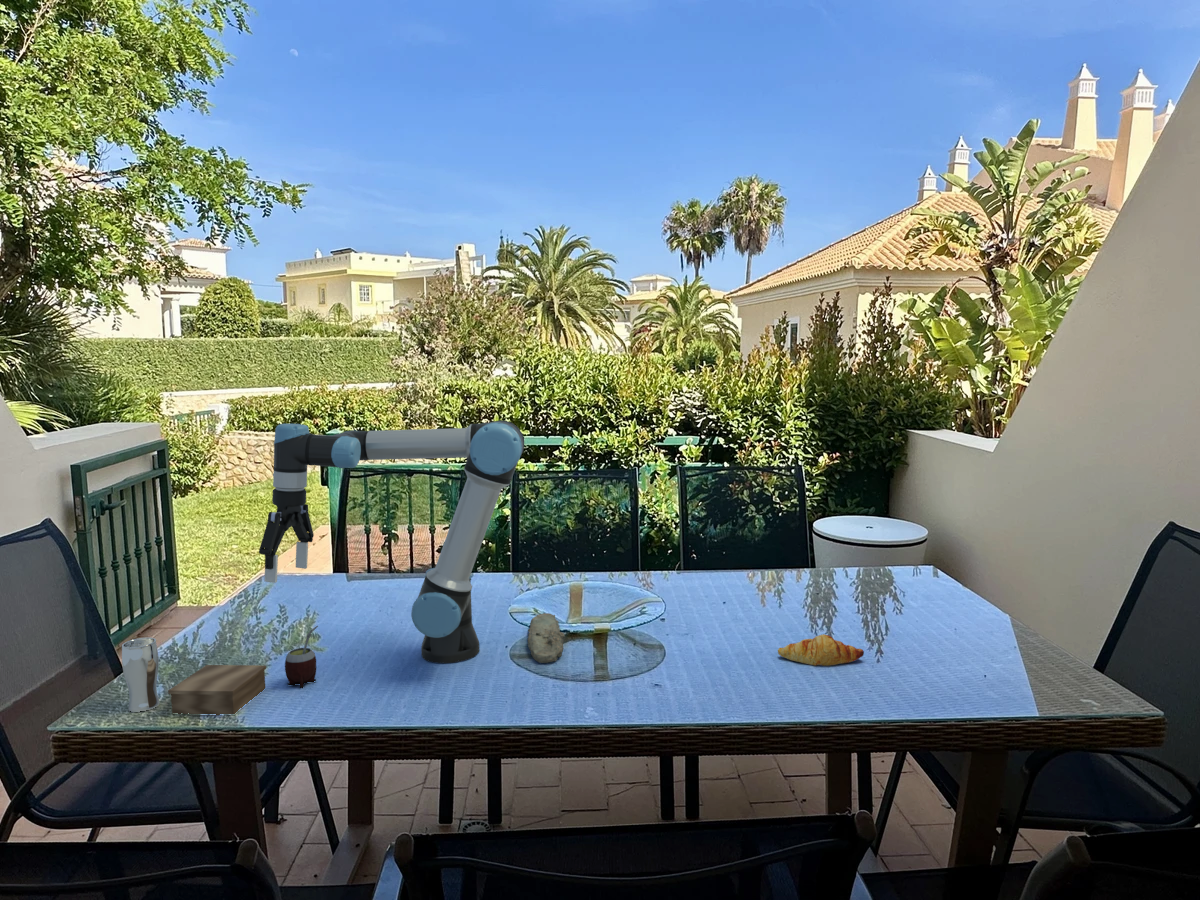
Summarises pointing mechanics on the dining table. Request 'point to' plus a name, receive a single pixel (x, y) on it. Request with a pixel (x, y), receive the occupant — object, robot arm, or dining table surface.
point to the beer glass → (141, 673)
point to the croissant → (820, 651)
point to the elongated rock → (545, 638)
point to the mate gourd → (301, 665)
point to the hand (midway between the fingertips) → (286, 574)
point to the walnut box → (218, 689)
